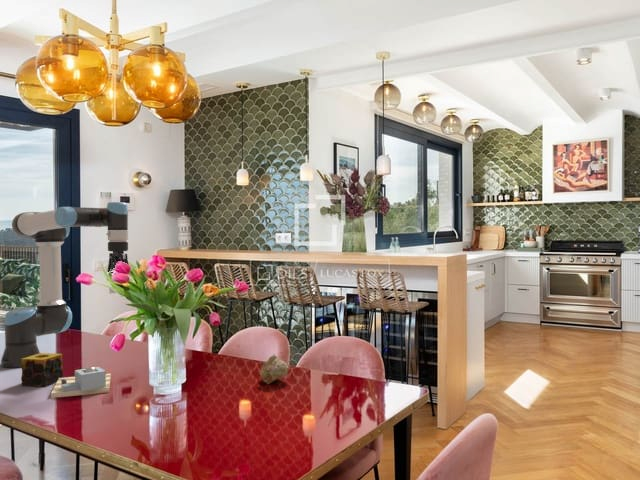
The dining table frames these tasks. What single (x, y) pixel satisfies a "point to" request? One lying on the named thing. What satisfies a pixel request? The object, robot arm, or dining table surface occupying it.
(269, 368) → the rock
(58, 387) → the board
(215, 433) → the dining table surface
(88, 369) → the post
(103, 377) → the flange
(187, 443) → the dining table surface
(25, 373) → the yellow black cube
